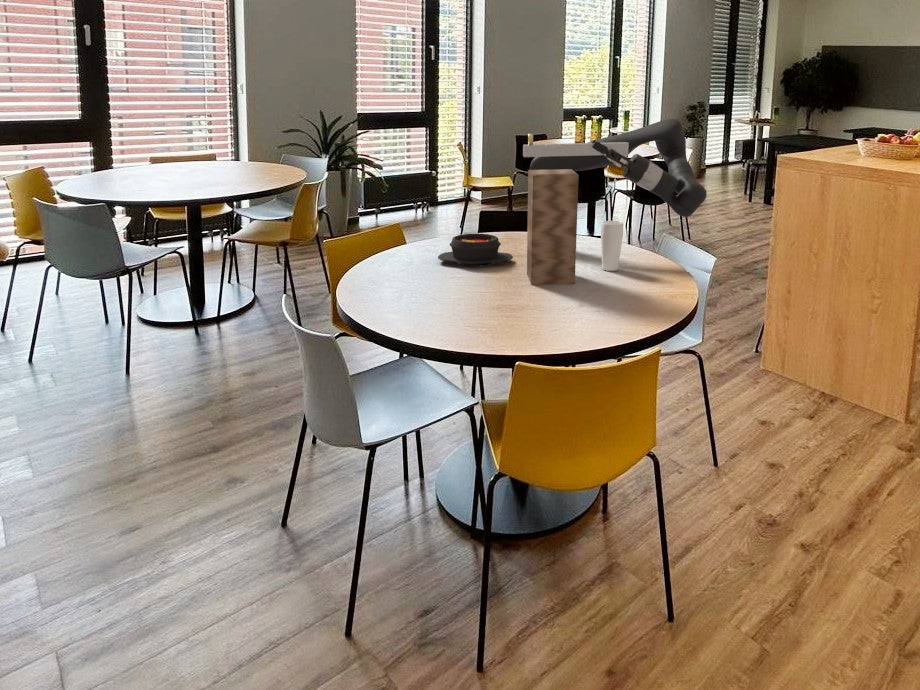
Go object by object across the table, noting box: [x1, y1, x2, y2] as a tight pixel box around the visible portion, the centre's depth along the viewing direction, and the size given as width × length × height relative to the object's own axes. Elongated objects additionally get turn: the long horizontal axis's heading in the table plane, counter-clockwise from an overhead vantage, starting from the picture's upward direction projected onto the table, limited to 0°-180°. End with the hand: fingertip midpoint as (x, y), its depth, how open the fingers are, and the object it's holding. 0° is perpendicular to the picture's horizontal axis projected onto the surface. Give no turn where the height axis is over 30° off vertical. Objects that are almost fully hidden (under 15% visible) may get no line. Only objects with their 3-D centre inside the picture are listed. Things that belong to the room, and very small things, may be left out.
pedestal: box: [526, 169, 579, 286], centre depth 237 cm, size 13×13×32 cm
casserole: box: [437, 232, 514, 267], centre depth 263 cm, size 25×19×8 cm
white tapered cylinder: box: [600, 220, 624, 272], centre depth 250 cm, size 7×7×15 cm
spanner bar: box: [522, 133, 629, 158], centre depth 229 cm, size 30×3×6 cm, turn 91°
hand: (593, 143), depth 229 cm, fingers closed on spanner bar, 3 cm apart
